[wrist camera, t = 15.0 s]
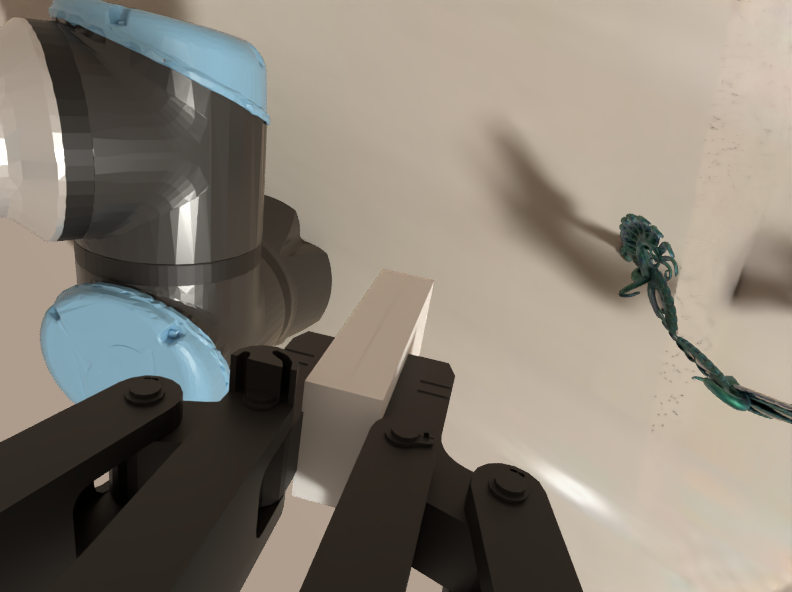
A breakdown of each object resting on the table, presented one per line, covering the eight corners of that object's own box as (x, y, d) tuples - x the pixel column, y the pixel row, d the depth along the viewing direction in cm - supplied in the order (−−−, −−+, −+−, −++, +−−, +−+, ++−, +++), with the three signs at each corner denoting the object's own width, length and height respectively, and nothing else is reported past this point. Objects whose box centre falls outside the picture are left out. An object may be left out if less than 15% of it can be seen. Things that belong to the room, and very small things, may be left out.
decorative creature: (558, 293, 50) (578, 434, 31) (612, 184, 46) (673, 268, 27) (849, 406, 48) (1060, 628, 29) (931, 304, 44) (1236, 484, 25)
